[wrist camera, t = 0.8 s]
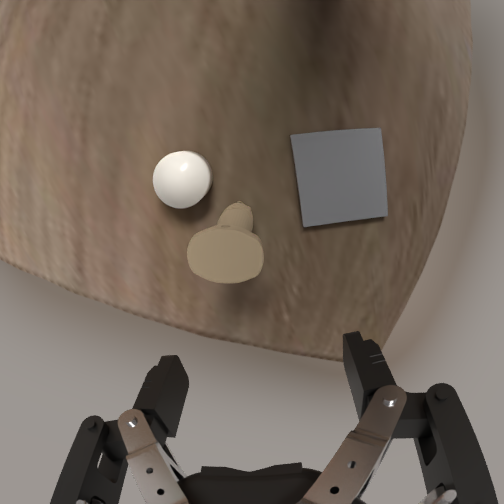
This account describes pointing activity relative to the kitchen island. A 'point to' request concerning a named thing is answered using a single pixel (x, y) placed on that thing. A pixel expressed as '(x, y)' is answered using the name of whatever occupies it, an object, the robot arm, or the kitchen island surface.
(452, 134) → the kitchen island surface
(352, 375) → the robot arm
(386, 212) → the coaster
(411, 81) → the kitchen island surface
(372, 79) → the kitchen island surface
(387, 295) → the kitchen island surface
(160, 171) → the white dome knob
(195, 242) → the handle
